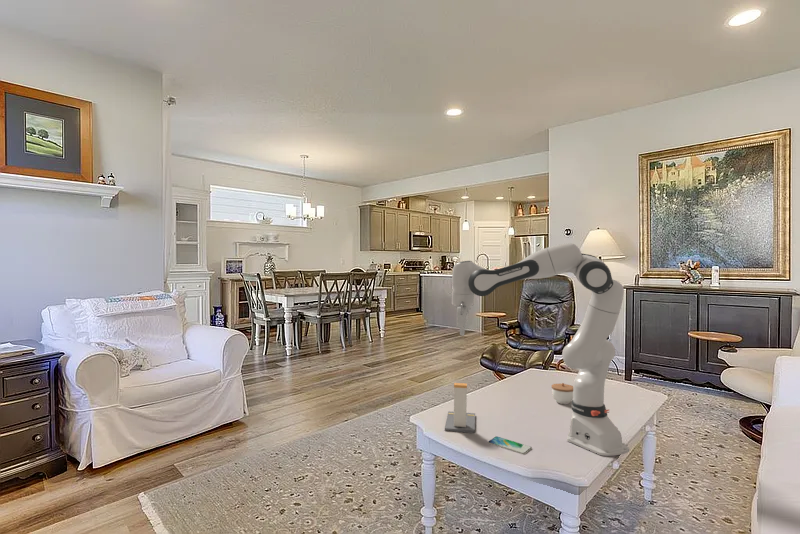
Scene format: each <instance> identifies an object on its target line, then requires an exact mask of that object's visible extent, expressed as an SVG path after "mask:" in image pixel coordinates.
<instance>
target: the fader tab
mask: <svg viewBox="0 0 800 534" xmlns="http://www.w3.org/2000/svg"><path fill="white" fill-rule="evenodd" d="M453 388H454V389H453V392H454V393H453V412H454V426H459V427H466V413H467V402H468V401H467V400H468V399H467V397H468V396H467V393H468V391H467V389H468V383H464V382H454V383H453Z"/></svg>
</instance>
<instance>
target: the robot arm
mask: <svg viewBox="0 0 800 534" xmlns="http://www.w3.org/2000/svg"><path fill="white" fill-rule="evenodd" d="M565 273H570V274H571V273H572V274H573V275H574V276H575V278H576V279H577V282H579V283H580V284H581V285H582V286H583V287H584V288H585V289H588V290H589V291H591V296H590V298H589V301H588V305H587V307H586V310H585V314H584V316H583V319H582V322H581V324H580V326H579V328H578V329H577V330H576V333H575V334H574V335H573V336H572V339H570V341H569V342H568V343H567V344H566V345H565V346H564V347H563V349H562V353H561V356H562V361H563V362H564V364H565V365H566V366H567V367H569V368H570V369H572V370H578V373H577V375H576V376H575V378H574V380H573V383H572V384H573V385H572V386H573V400H572V401H571V404H570V405H571V411H572V412H571V413H572V414H571V418H570V424H569V431H568V433H567V437H566V441H567V442H569V443H571V444H573V445H576V446H578V447H580V448H583V449H585V450H587V451H589V450H590V452H592V453H594V454H596V453H597V454H596V455H599V456H604V457H605V456H606V457H613V456H620V455H625V454H627V453H629V452H630V447H628V446H627V445H626V444H625V443H623V437H622V433H621V431H620V430H619V428H618V427H617V426H616V425H615V424H614V422H612V420H611V419H610V417H608V413H610V409H607V408H606V405H605V403H604V402H605V401H604V400H605V383H606V380H607V375H608V372H609V368H610V364H611V363H612V361H613V360H614V358H615V356H616V349H615V346H614V344H613V343H612V342H611V341H610V340H608V337H610V336H611V335H612V333H613V331H614V330H615V327H616V324H617V320H618V318H619V315H620V311H621V309H622V304H623V300H624V291H625V290H624V289H625V288H624V286H623V285H622V284H621V282H619V281H618V280H615V279H613V277H612V276H613V275H612V272H611V270H610V268H609V267H608V265H606V263H605V262H604V261H603V260H602V259H600V258H598V257H597V256H595V255H592V254H587V253H582V251H581V249H580V247H579V246H578V245H576V244H574V243H571V242H569V243H562V244H555V245H552V246H547V247H545V248H543V249H539V250H537V251H534V252H533V253H531V254H529V255H528V256H526V257H525V258H524V259H522V260H520V261H519V262H516V263H513V264H510V265H507V266H505V267H500V268H497V269H492V270H490V269H487V268H484V267H482V266H480V265H478V264H476V263H474V262H473V261H472V260H464V261H463V260H462V261H459V262H458V261H457V262H456V263H455V264H454V265H453V267H452V273H451V274H452V275H451V277H452V278H451V283H452V291H451V305H452V306H454V310H456V328H457V327H458V328H459V335H460V336H465V333H466V331H465V330H466V327H467V324H468V323H467V322H468V318H469V314H470V313H469V312H470V310H471V307H472V306H474V305H475V296H478V297H485V296H486V297H487V296H489V295H490V294H492V292H494V291H495V290H496V289H497V288H500V287H501V286H504V285H508V284H512V283H514V282H518V281H522V280H533V279H535V280H537V279H538V280H539V279H545V278H546V279H547V278H553V277H555V276H558V275H561V274H565Z"/></svg>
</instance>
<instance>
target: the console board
mask: <svg viewBox="0 0 800 534" xmlns="http://www.w3.org/2000/svg"><path fill="white" fill-rule="evenodd" d="M475 426H476V413H475V412H466V427H459V426H454V411H450V410H449V411H447V416H446V420H445V426H444V431H445V430H450V431H449V432H455V431H458V432H459V433H467V432H468V433H470V434H475V433H476V431H475V429H476V427H475ZM458 432H457V433H458Z"/></svg>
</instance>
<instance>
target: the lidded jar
mask: <svg viewBox="0 0 800 534" xmlns="http://www.w3.org/2000/svg"><path fill="white" fill-rule="evenodd" d="M551 394H552V397H553V399H554V400H555V402H556V403H558V404H560V405H561V404H562V405H569V404H570V403H572V400H573V385H570V384H567V383H565V382H561V383H553V384H551Z"/></svg>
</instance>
